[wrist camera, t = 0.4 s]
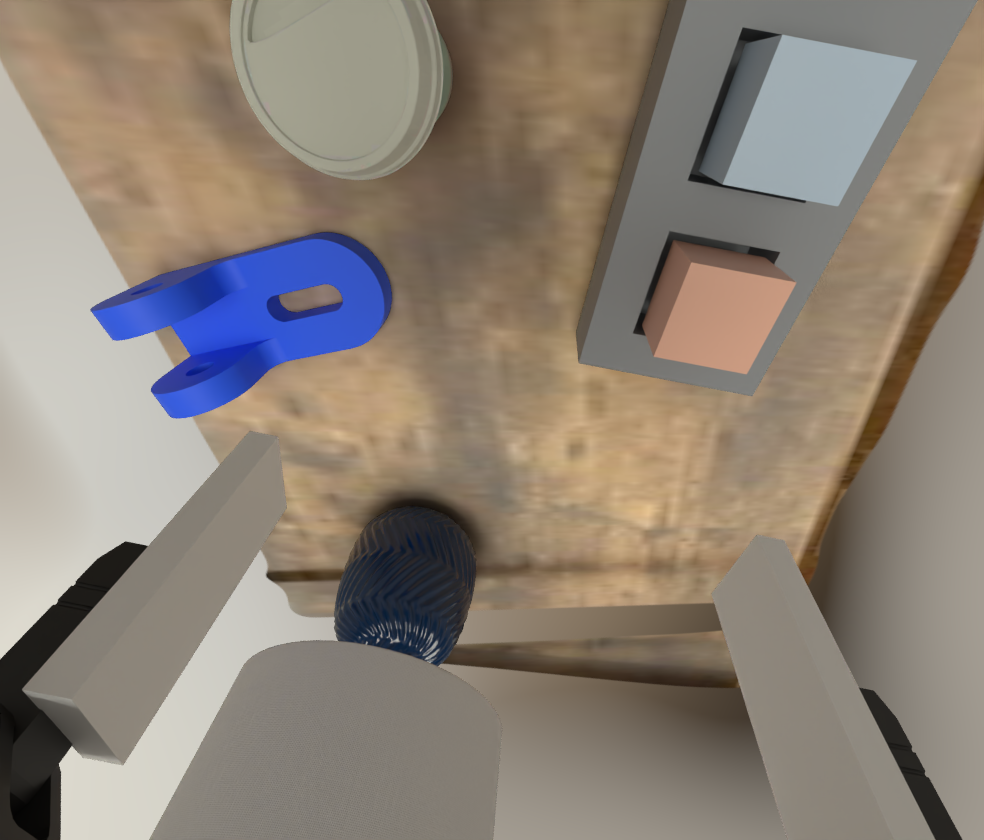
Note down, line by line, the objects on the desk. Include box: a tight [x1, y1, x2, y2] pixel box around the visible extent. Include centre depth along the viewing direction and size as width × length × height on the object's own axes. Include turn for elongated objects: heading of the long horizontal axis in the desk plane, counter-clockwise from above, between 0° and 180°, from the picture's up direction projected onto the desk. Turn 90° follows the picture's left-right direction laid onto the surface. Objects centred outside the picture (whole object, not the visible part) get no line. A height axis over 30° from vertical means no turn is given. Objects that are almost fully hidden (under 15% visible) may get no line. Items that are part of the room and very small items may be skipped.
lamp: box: [149, 506, 502, 840], centre depth 36 cm, size 20×20×37 cm
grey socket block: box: [576, 0, 978, 396], centre depth 25 cm, size 30×12×5 cm, turn 171°
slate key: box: [699, 35, 917, 206], centre depth 22 cm, size 5×5×4 cm
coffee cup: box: [230, 0, 453, 180], centre depth 23 cm, size 9×8×12 cm
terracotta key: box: [642, 240, 797, 374], centre depth 27 cm, size 5×5×4 cm
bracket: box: [91, 232, 392, 418], centre depth 34 cm, size 18×8×9 cm, turn 104°
